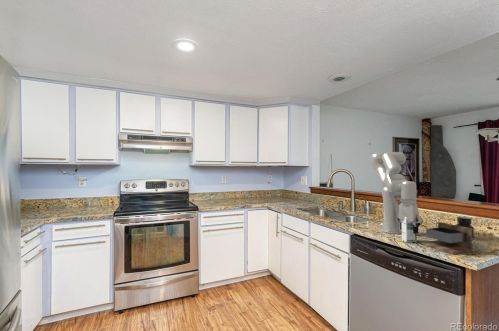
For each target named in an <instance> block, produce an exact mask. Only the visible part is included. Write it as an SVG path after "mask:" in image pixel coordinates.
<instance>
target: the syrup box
mask: <svg viewBox="0 0 499 331" xmlns="http://www.w3.org/2000/svg"><path fill="white" fill-rule="evenodd" d="M415 221H416V220H415ZM401 222H402V233H401V240H402V241H403V240H404V242H405V243H412V242H415V244H416V243H418V242H417V241H418V238H417V234H418V233H413V226H414V225H413V223H412V222H408V218H406V217H405V218H404V220H402V221H401ZM415 223H416V222H415Z"/></svg>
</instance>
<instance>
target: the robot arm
mask: <svg viewBox="0 0 499 331" xmlns="http://www.w3.org/2000/svg"><path fill="white" fill-rule="evenodd" d="M406 159H407V158H406V154H404V152H401V151H389V152H387V151H385V152H374V153H373V154H371V156H370V163H371V166H372V167H373V170H374V171H375V172H376V174H377V176H378V177H377V178H378V180H379V183H380V186H382V189H381V197H382V201H383V203H382V204H383V207H382V208H383V222H381V223H379V226H380V227H381V228H380V230H381V232H383V233H387V234H393V235H394V234H395V235H396V234H398V235H399V234H401V235H402V222H401V221H402V220H404V218H405V217H406V218H408V222H412V223H413V225H414V226H413V233H417V234H419V227H420V226H421V225H422V224H423V223H424V220H423V219H422V218H421V217H420V212H419V207H418V204H417V183H416V182H415V181H410V180H407V178H406V177H405V176H404V175H403V174H401V171H402V166H401V165H403V164H405V163H406V161H407V160H406ZM398 200H399V201H400V202H401V203H399V202H397V201H398ZM415 220H416V221H415ZM415 222H416V223H415Z"/></svg>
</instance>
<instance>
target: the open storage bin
mask: <svg viewBox="0 0 499 331" xmlns="http://www.w3.org/2000/svg"><path fill="white" fill-rule="evenodd" d="M425 229H426V230H425V235H426V238H430V239H434V240H441V241H444V242H448V243H455V242H464V241H466V232H461V231H457V230H452V229H448V228H443V227H439V228H438V227H430V228H425Z"/></svg>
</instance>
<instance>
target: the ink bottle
mask: <svg viewBox="0 0 499 331" xmlns="http://www.w3.org/2000/svg"><path fill="white" fill-rule="evenodd" d="M456 222H457V223H456V224H455V225H457V226H462V227H467V228H472V239H473V238H474V237H475V235H474V234H475V232H474V229H475V227H474V226H472V217H467V216H457V218H456Z"/></svg>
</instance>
